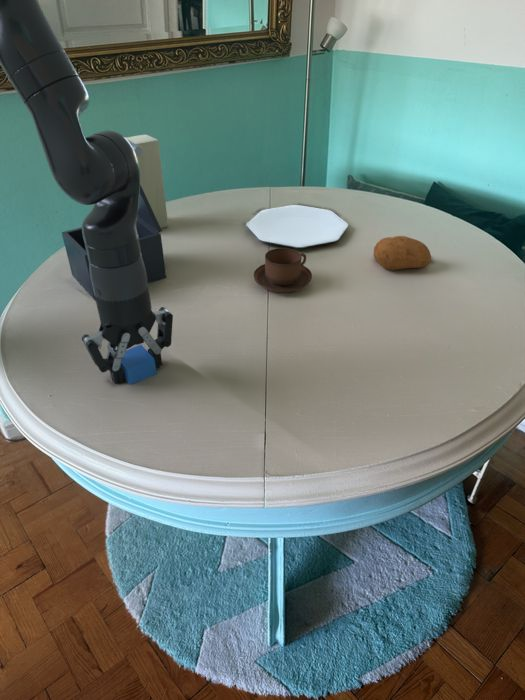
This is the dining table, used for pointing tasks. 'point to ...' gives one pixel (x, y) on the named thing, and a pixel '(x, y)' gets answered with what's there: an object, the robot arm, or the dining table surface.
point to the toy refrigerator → (152, 176)
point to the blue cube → (137, 364)
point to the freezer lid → (145, 201)
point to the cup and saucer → (283, 271)
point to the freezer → (148, 246)
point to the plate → (297, 226)
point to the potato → (401, 253)
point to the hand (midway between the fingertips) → (138, 376)
